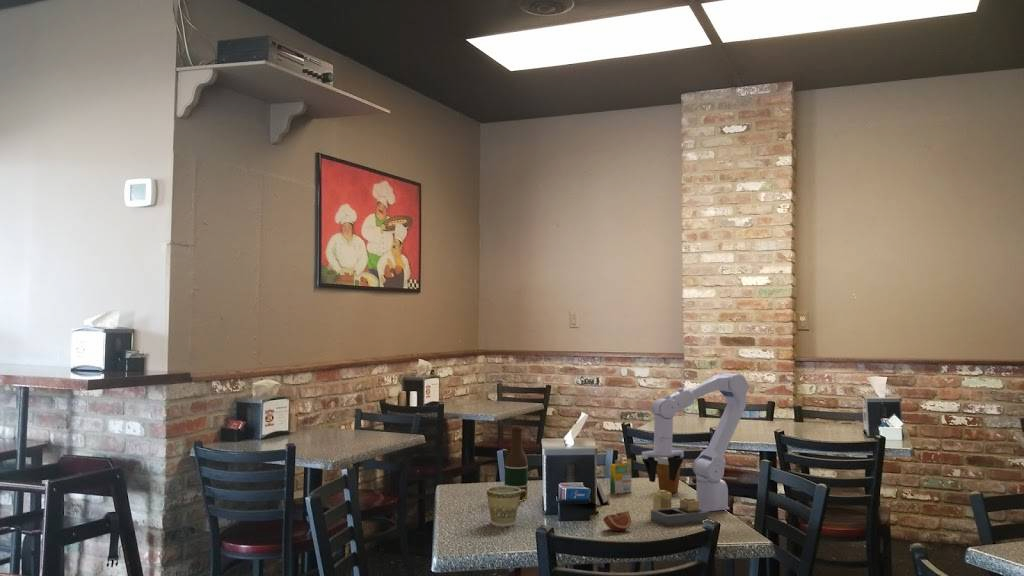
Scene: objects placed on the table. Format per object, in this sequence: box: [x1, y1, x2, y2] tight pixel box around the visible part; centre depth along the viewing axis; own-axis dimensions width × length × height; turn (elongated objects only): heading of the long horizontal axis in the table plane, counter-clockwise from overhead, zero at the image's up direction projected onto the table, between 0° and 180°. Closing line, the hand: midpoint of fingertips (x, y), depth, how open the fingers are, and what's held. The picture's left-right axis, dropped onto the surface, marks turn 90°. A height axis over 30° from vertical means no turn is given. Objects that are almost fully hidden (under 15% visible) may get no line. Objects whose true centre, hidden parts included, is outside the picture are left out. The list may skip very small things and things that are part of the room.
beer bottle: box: [504, 425, 529, 500], centre depth 264 cm, size 8×8×24 cm
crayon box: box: [609, 458, 632, 495], centre depth 276 cm, size 7×3×12 cm, turn 120°
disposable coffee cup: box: [654, 455, 683, 494], centre depth 279 cm, size 10×10×12 cm
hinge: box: [596, 479, 611, 506], centre depth 264 cm, size 17×5×10 cm, turn 22°
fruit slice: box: [603, 510, 632, 532], centre depth 226 cm, size 8×7×5 cm
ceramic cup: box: [486, 485, 528, 528], centre depth 233 cm, size 13×10×10 cm
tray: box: [650, 496, 710, 528], centre depth 237 cm, size 15×8×6 cm, turn 114°
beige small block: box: [652, 489, 672, 510], centre depth 249 cm, size 4×4×6 cm
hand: (662, 480), depth 249 cm, fingers open, 7 cm apart
